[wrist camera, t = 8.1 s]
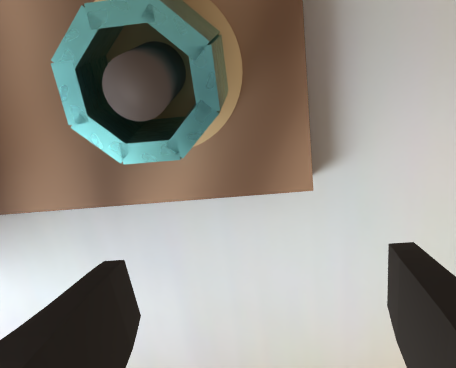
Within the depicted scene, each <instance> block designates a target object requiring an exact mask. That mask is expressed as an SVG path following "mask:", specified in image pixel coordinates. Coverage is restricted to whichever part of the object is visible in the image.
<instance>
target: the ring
mask: <svg viewBox="0 0 456 368" xmlns="http://www.w3.org/2000/svg"><path fill="white" fill-rule="evenodd" d="M140 23H148V24H150V25H151V26H152V27H153V28H155V29H156V30H157V31H158V32H159V33H161V34H162V35H163V36H164V37H166V38H167V39H168V40H169V41H171V42H172V43H173V44H174V45H176V46H177V47H178V48H179V49H181V50H182V51H183V52H184V53H185V54H187V55H188V56H189V62H190V68H191V75H192V81H193V88H194V94H195V100H196V103H195V104H194V106H193V107H192V108H191V109H190V111H189V112H188V113H187V115H186V116H184V117H174V118H163V119H152V120H148V121H133V120H129V119H126V118H124V117H122V116H121V115H119V114H118V113H117V112H115V111H114V110H113V108H112V107H111V106H110V105H109V103H108V102H107V100H106V98H105V95H104V92H103V87H102V78H103V74H104V71H105V68H106V66H107V65H108V62H107V58H106V55H107V53H108V51H109V50H110V48H111V47H112V45H113V43H114V42H115V40H116V38H117V37H118V35H119V34H120V32H121V30H122V29H123V27H124V26H125V25H132V24H140ZM219 33H220V31H219V30H217V29H216V28H215V27H214V26H213V25H211V24H210V23H209V22H208V21H207V20H205V19H204V18H203V17H202V16H201V15H199V14H198V13H197V12H196V11H195V10H193V9H192V8H191V7H190V6H189V5H187V4H186V3H185V2H184V1H183V0H105V1H98V2H91V3H84V5H81V7H80V9H79V11H78V12H77V14H76V16H75V18H74V20H73V21H72V23H71V25H70V27H69V29H68V30H67V32H66V34H65V36H64V38H63V39H62V41H61V43H60V45H59V47H58V48H57V50H56V52H55V54H54V56H53V57H52V59H51V61H53V63H51V66H52V70H53V73H54V77H55V80H56V84H57V87H58V90H59V94H60V97H61V101H62V104H63V108H64V111H65V114H66V118H67V121H68V125H72V126H71V128H72V129H73V130H74V131H76V132H77V133H79V134H80V135H81V136H83V137H84V138H86V139H87V140H88V141H90V142H91V143H93V144H94V145H95V146H97V147H98V148H100V149H101V150H102V151H104V152H105V153H107V154H108V155H109V156H111V157H112V158H114V159H115V160H116V161H118V162H119V163H122V162H123V164H136V163H149V162H162V161H174V160H181V158H184V157H185V156H186V154H187V153H188V152H189V151H190V149H191V148H192V147H193V146H194V145H195V143H196V142H197V141H198V140H199V138H200V137H201V136H202V135H203V133H204V132H205V131H206V130H207V128H208V127H209V126H210V125H211V123H212V122H213V121H214V120H215V118H216V117H217V116H218V115H219V113H220V111H221V108H222V106H223V104H224V101H225V99H226V96H227V94H228V83H227V75H226V67H225V59H224V50H223V42H222V34H221V35H218V34H219Z"/></svg>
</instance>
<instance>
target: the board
mask: <svg viewBox="0 0 456 368" xmlns="http://www.w3.org/2000/svg"><path fill="white" fill-rule="evenodd" d="M98 1H105V0H0V215H4V214H17V213H30V212H43V211H56V210H69V209H82V208H95V207H108V206H120V205H133V204H146V203H159V202H172V201H185V200H198V199H211V198H224V197H237V196H250V195H263V194H276V193H289V192H302V191H313V177H312V159H311V142H310V124H309V106H308V89H307V71H306V54H305V36H304V18H303V1H302V0H183V1H184V2H185V3H186V4H187V5H189V6H190V7H191V8H192V9H193V10H195V11H196V12H197V13H198V14H199V15H201V16H202V17H203V18H204V19H205V20H207V21H208V22H209V23H210V24H211V25H213V26H214V27H215V28H216V29H217V30H219V31H220V33H219V34H218V35H221V34H222V42H223V50H224V59H225V67H226V75H227V83H228V94H227V96H226V99H225V101H224V104H223V106H222V108H221V111H220V113H219V115H218V116H217V117H216V118H215V120H214V121H213V122H212V123H211V125H210V126H209V127H208V128H207V130H206V131H205V132H204V133H203V135H202V136H201V137H200V138H199V140H198V141H197V142H196V143H195V145H194V146H193V147H192V148H191V149H190V151H189V152H188V153H187V154H186V156H185V157H184V158H181V160H174V161H162V162H149V163H136V164H123V162H122V163H119V162H118V161H116V160H115V159H114V158H112V157H111V156H109V155H108V154H107V153H105V152H104V151H102V150H101V149H100V148H98V147H97V146H95V145H94V144H93V143H91V142H90V141H88V140H87V139H86V138H84V137H83V136H81V135H80V134H79V133H77V132H76V131H74V130H73V129H72V128H71V126H72V125H68V121H67V118H66V114H65V111H64V108H63V104H62V101H61V97H60V94H59V90H58V87H57V84H56V80H55V77H54V73H53V70H52V66H51V63H53V61H51V59H52V57H53V56H54V54H55V52H56V50H57V48H58V47H59V45H60V43H61V41H62V39H63V38H64V36H65V34H66V32H67V30H68V29H69V27H70V25H71V23H72V21H73V20H74V18H75V16H76V14H77V12H78V11H79V9H80V7H81V5H84V3H91V2H98ZM106 58H107V62H108V65H107V66H106V68H105V71H104V74H103V78H102V87H103V92H104V95H105V98H106V100H107V102H108V103H109V105H110V106H111V107H112V108H113V110H114V111H115V112H117V113H118V114H119V115H121V116H122V117H124V118H126V119H129V120H133V121H148V120H152V119H163V118H174V117H184V116H186V115H187V113H188V112H189V111H190V109H191V108H192V107H193V106H194V104H195V103H196V100H195V94H194V88H193V81H192V75H191V68H190V62H189V56H188V55H187V54H185V53H184V52H183V51H182V50H181V49H179V48H178V47H177V46H176V45H174V44H173V43H172V42H171V41H169V40H168V39H167V38H166V37H164V36H163V35H162V34H161V33H159V32H158V31H157V30H156V29H155V28H153V27H152V26H151V25H150V24H148V23H140V24H132V25H125V26H124V27H123V29H122V30H121V32H120V34H119V35H118V37H117V38H116V40H115V42H114V43H113V45H112V47H111V48H110V50H109V51H108V53H107V55H106Z"/></svg>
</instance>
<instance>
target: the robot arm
mask: <svg viewBox="0 0 456 368" xmlns="http://www.w3.org/2000/svg"><path fill="white" fill-rule="evenodd" d="M387 306H388V310H389V314H390V318H391V322H392V326H393V329H394V333H395V337H396V340H397V343H398V346H399V349H400V351H401V354H402V356H403V359H404V361H405V364H406V366H407V368H456V277H455V276H454V275H453V274H452V273H450V272H449V271H448V270H447V269H445V268H444V267H443V266H442V265H441V264H439V263H438V262H437V261H436V260H435V259H433V258H432V257H431V256H430V255H429V254H427V253H426V252H425V251H424V250H423V249H421V248H420V247H419V246H418V245H416V244H415V243H414V242H409V243H393V244H389V255H388V304H387ZM140 317H141V315H140V312H139V308H138V305H137V301H136V298H135V295H134V291H133V288H132V285H131V281H130V278H129V274H128V271H127V268H126V264H125V261H124V260H116V261H104V262H102V263H101V264H99V265H98V266H97V267H95V268H94V269H93V270H91V271H90V272H89V273H87V274H86V275H85V276H84V277H82V278H81V279H80V280H79V281H77V282H76V283H75V284H74V285H73V286H71V287H70V288H69V289H68V290H66V291H65V292H64V293H63V294H61V295H60V296H59V297H58V298H56V299H55V300H54V301H53V302H51V303H50V304H49V305H48V306H46V307H45V308H44V309H42V310H41V311H40V312H38V313H37V314H36V315H34V316H33V317H32V318H30V319H29V320H28V321H26V322H25V323H23V324H22V325H21V326H19V327H18V328H17V329H15V330H14V331H13V332H11V333H10V334H8V335H7V336H6V337H4V338H3V339H1V340H0V368H126V365H127V363H128V360H129V357H130V355H131V352H132V349H133V346H134V342H135V338H136V334H137V330H138V326H139V321H140Z"/></svg>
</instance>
